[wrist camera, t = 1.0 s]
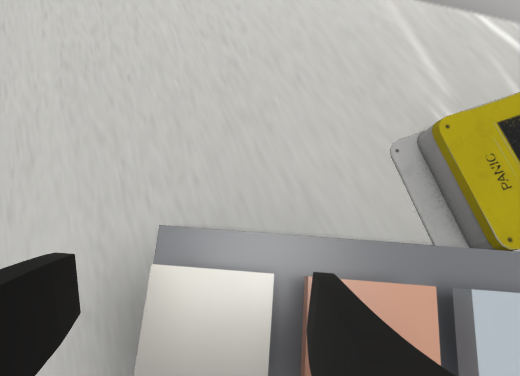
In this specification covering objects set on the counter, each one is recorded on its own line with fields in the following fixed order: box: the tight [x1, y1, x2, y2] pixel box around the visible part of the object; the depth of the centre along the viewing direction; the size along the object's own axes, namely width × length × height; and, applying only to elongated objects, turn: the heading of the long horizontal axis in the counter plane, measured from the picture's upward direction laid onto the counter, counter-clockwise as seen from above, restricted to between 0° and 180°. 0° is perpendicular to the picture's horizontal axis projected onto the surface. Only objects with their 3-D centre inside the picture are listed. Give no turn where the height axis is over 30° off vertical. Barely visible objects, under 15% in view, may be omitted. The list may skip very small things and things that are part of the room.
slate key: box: [452, 288, 520, 376], centre depth 15 cm, size 6×6×4 cm
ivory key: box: [134, 264, 274, 376], centre depth 16 cm, size 6×6×4 cm
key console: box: [153, 225, 520, 376], centre depth 19 cm, size 10×22×3 cm, turn 86°
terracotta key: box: [301, 276, 441, 376], centre depth 16 cm, size 6×6×4 cm
